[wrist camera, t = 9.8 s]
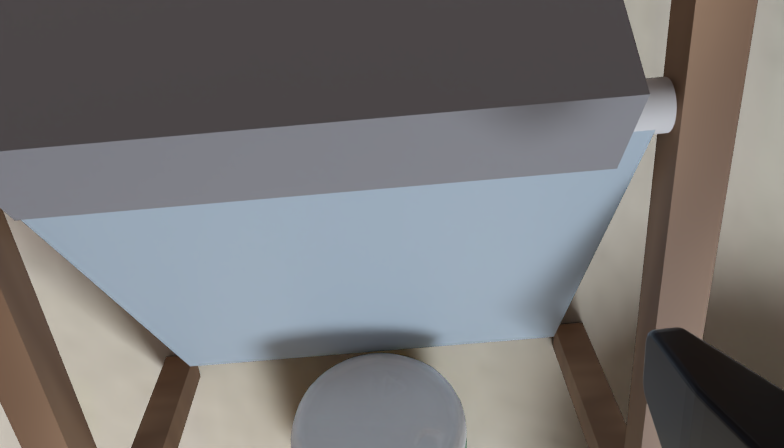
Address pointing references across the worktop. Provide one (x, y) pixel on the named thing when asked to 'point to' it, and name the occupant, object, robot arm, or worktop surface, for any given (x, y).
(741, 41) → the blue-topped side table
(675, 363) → the robot arm
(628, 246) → the worktop surface
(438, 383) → the supplement bottle
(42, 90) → the grey flat block
